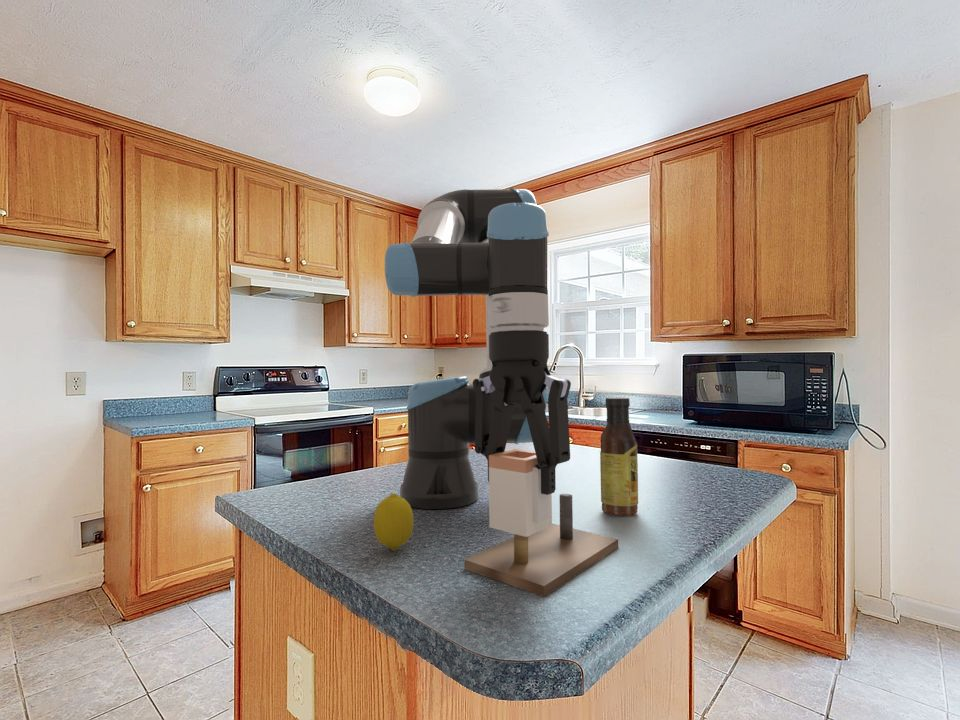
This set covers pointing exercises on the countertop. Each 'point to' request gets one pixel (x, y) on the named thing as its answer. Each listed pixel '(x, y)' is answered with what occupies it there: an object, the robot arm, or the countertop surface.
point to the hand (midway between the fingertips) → (520, 514)
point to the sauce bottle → (618, 461)
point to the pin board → (543, 555)
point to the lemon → (393, 521)
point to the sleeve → (513, 493)
